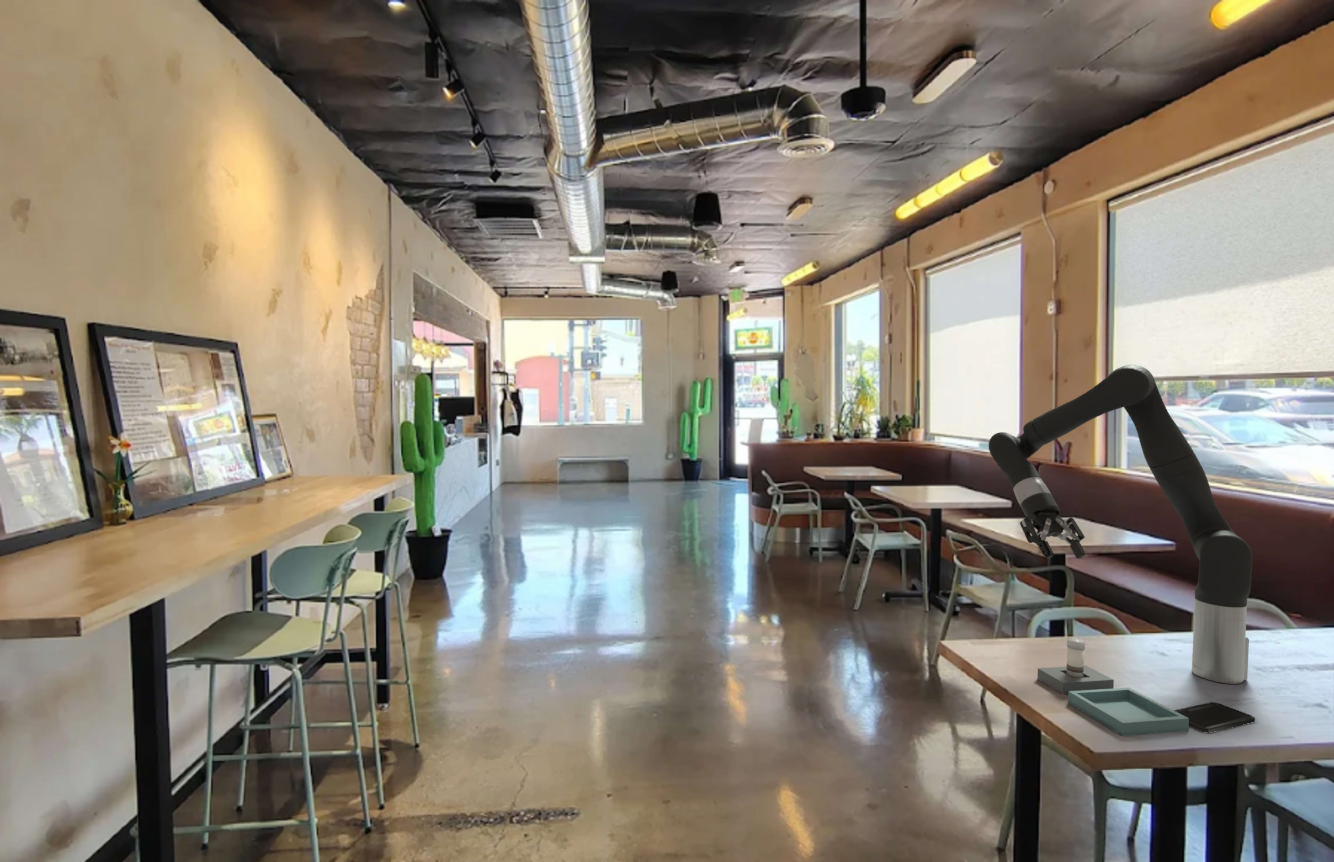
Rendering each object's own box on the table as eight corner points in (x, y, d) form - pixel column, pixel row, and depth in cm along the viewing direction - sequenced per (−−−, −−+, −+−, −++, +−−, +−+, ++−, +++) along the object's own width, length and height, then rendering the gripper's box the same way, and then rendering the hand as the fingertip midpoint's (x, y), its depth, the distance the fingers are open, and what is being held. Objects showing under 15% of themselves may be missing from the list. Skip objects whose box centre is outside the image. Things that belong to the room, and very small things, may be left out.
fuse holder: (1085, 676, 155) (1085, 665, 155) (1113, 691, 147) (1113, 679, 147) (1037, 679, 154) (1037, 668, 154) (1063, 694, 146) (1063, 682, 146)
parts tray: (1128, 699, 144) (1128, 687, 143) (1188, 731, 130) (1188, 718, 130) (1068, 703, 141) (1068, 691, 141) (1122, 736, 128) (1123, 723, 128)
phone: (1257, 718, 134) (1206, 729, 129) (1257, 723, 134) (1206, 735, 129) (1213, 701, 141) (1163, 711, 136) (1213, 706, 141) (1163, 717, 136)
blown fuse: (1075, 681, 152) (1077, 637, 152) (1087, 687, 149) (1088, 642, 149) (1062, 682, 152) (1063, 638, 152) (1073, 688, 149) (1074, 643, 148)
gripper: (1019, 490, 167) (1049, 549, 157) (1069, 491, 170) (1102, 549, 160) (1002, 507, 173) (1030, 565, 162) (1050, 508, 176) (1081, 564, 165)
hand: (1066, 557), depth 161 cm, fingers open, 8 cm apart
